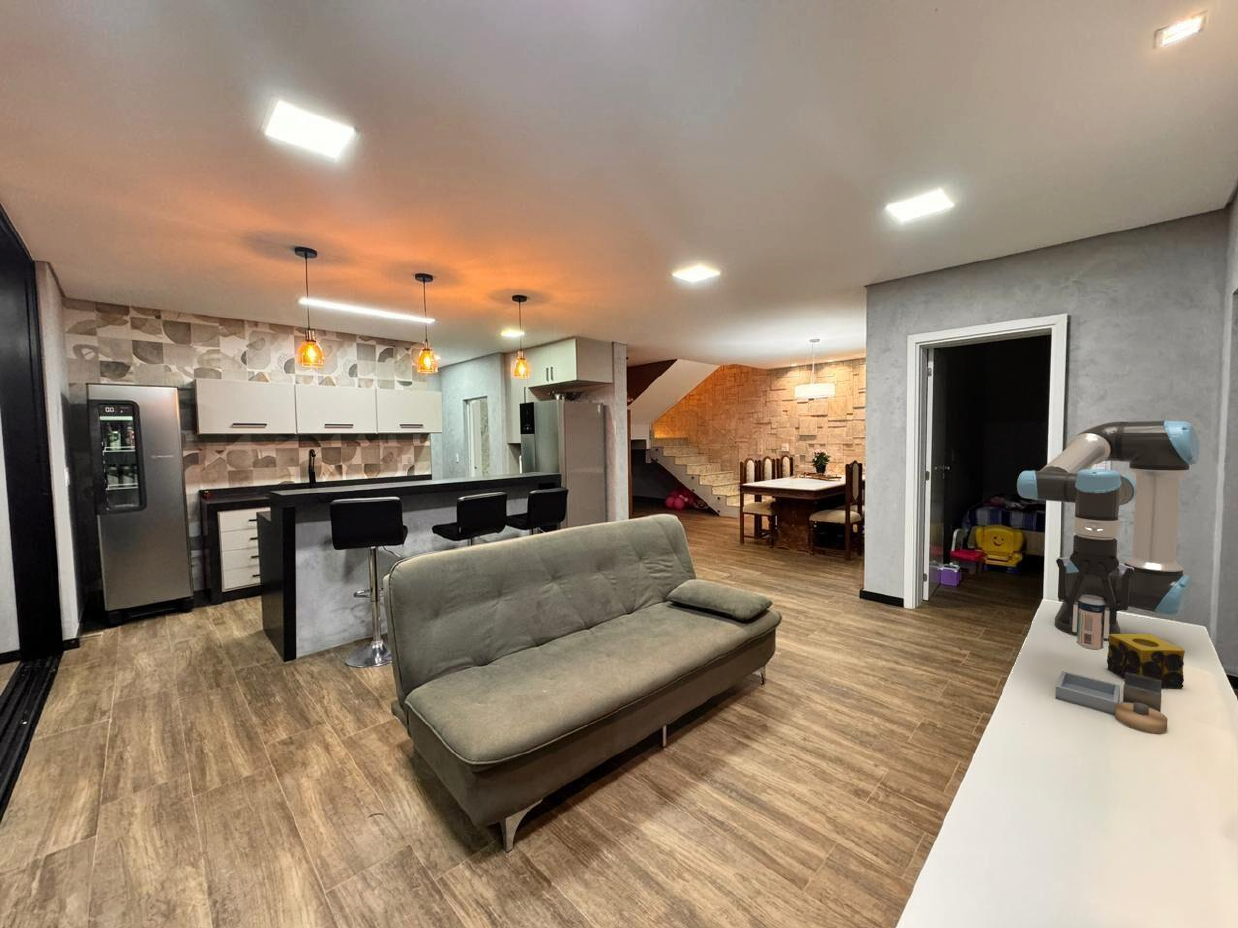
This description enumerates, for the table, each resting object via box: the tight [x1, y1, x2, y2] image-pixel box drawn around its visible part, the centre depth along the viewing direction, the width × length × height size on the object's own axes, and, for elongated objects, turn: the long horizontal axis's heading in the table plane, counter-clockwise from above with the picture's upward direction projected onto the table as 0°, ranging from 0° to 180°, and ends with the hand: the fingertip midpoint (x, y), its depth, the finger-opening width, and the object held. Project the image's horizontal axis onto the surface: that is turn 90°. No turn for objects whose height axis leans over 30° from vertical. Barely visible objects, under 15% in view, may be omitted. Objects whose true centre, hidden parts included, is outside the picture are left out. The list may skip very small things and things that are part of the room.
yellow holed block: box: [1106, 633, 1186, 690], centre depth 131 cm, size 10×10×10 cm
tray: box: [1055, 670, 1121, 716], centre depth 123 cm, size 11×11×3 cm
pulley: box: [1114, 701, 1168, 735], centre depth 113 cm, size 8×8×4 cm
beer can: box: [1076, 594, 1106, 651], centre depth 122 cm, size 5×5×12 cm
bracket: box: [1122, 672, 1162, 713], centre depth 120 cm, size 9×6×5 cm, turn 134°
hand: (1090, 633), depth 122 cm, fingers closed on beer can, 5 cm apart
